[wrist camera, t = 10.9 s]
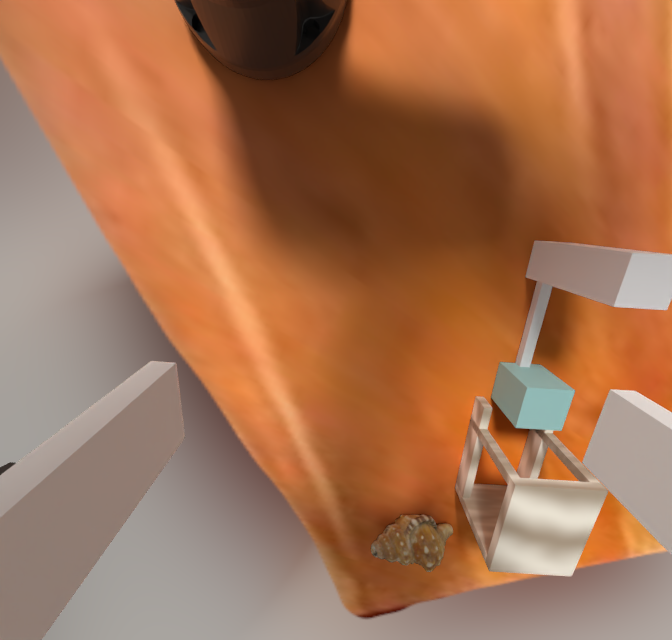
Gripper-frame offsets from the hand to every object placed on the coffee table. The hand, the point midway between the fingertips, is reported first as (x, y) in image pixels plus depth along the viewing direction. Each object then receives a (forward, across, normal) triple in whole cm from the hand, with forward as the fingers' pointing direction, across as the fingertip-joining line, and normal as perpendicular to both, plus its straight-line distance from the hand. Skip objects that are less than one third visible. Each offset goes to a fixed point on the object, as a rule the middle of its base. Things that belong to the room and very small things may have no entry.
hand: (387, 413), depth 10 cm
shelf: (+27, +21, -22) cm, 41 cm away
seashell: (+27, +11, -38) cm, 48 cm away
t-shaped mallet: (+27, +21, -5) cm, 34 cm away
